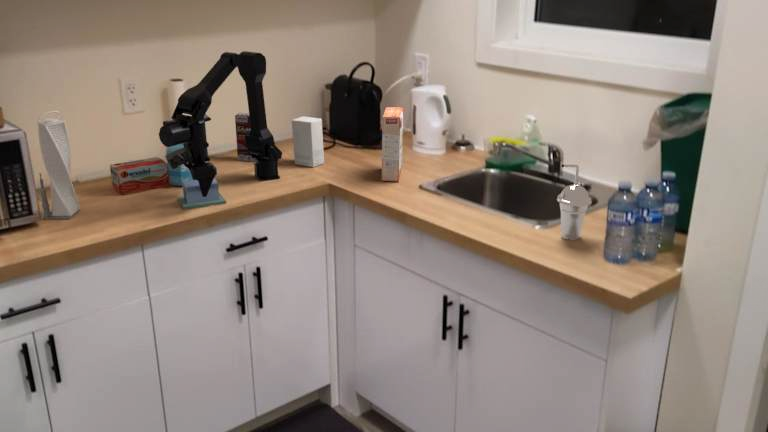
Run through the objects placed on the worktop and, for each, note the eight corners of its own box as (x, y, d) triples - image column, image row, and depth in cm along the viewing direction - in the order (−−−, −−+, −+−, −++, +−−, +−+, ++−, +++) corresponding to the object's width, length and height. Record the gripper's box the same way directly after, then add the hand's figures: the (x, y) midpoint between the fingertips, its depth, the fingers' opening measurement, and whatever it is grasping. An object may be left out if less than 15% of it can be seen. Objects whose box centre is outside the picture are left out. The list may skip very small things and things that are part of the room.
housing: (214, 193, 208) (213, 177, 206) (219, 199, 203) (218, 183, 201) (183, 198, 204) (182, 181, 202) (187, 204, 199) (186, 187, 198)
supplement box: (237, 161, 242) (234, 115, 236) (242, 157, 246) (239, 112, 241) (261, 162, 240) (258, 116, 235) (266, 158, 245) (263, 113, 239)
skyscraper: (57, 208, 198) (40, 109, 188) (86, 208, 198) (70, 110, 188) (43, 219, 190) (24, 117, 180) (72, 219, 190) (56, 117, 180)
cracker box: (400, 182, 221) (401, 116, 214) (380, 181, 222) (381, 116, 214) (403, 169, 234) (404, 106, 227) (384, 168, 235) (385, 106, 227)
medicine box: (161, 180, 223) (158, 155, 220) (170, 187, 216) (168, 162, 214) (112, 189, 214) (108, 163, 211) (120, 196, 208) (117, 170, 205)
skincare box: (324, 163, 240) (323, 118, 234) (312, 168, 234) (311, 122, 229) (305, 159, 244) (303, 115, 238) (292, 164, 239) (291, 119, 233)
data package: (182, 187, 215) (178, 149, 211) (169, 186, 217) (165, 148, 212) (203, 176, 226) (199, 139, 222) (190, 174, 227) (187, 138, 223)
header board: (218, 194, 210) (217, 181, 209) (226, 203, 202) (225, 190, 201) (177, 199, 205) (176, 187, 204) (183, 209, 198) (182, 196, 196)
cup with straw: (592, 242, 178) (601, 166, 170) (557, 243, 177) (564, 167, 170) (580, 229, 185) (589, 156, 178) (547, 230, 185) (554, 157, 178)
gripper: (160, 134, 202) (166, 186, 207) (172, 150, 186) (178, 206, 192) (199, 130, 206) (204, 181, 212) (215, 145, 191) (219, 200, 196)
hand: (200, 191), depth 203 cm, fingers open, 9 cm apart
